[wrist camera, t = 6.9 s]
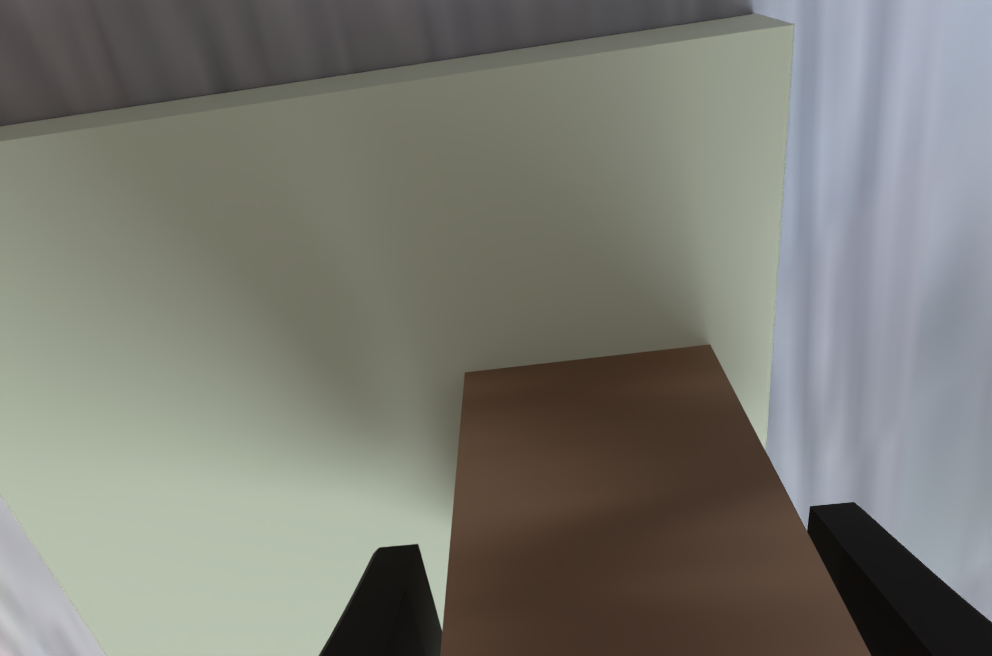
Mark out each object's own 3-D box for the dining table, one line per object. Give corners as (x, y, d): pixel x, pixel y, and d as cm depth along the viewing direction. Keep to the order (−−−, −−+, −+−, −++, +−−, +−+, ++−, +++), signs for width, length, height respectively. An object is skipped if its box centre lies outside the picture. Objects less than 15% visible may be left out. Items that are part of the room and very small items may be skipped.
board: (756, 14, 10) (794, 24, 9) (730, 633, 17) (749, 691, 15) (-129, 145, 11) (-214, 172, 10) (184, 678, 18) (159, 736, 17)
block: (710, 344, 11) (971, 846, 5) (707, 524, 13) (890, 1042, 7) (464, 372, 11) (421, 877, 5) (498, 544, 13) (495, 1057, 7)
